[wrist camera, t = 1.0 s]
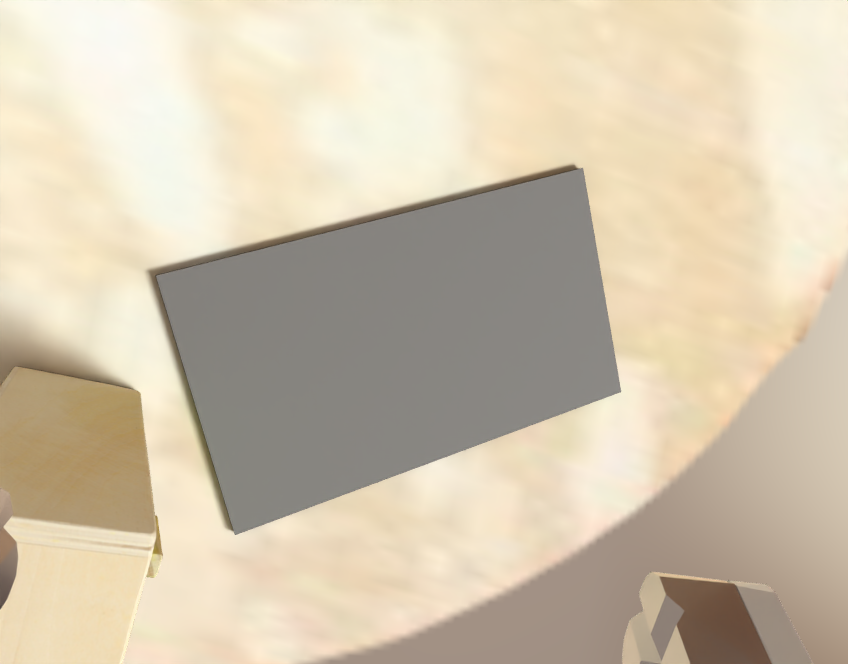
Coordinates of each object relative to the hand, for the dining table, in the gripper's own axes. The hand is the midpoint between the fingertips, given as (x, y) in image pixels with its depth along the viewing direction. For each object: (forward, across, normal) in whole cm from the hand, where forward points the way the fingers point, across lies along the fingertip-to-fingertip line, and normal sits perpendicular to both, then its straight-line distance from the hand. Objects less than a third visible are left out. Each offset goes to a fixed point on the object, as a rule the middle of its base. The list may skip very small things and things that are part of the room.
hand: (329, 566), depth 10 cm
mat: (+36, -2, +14) cm, 39 cm away
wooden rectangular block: (+27, +17, +20) cm, 37 cm away
